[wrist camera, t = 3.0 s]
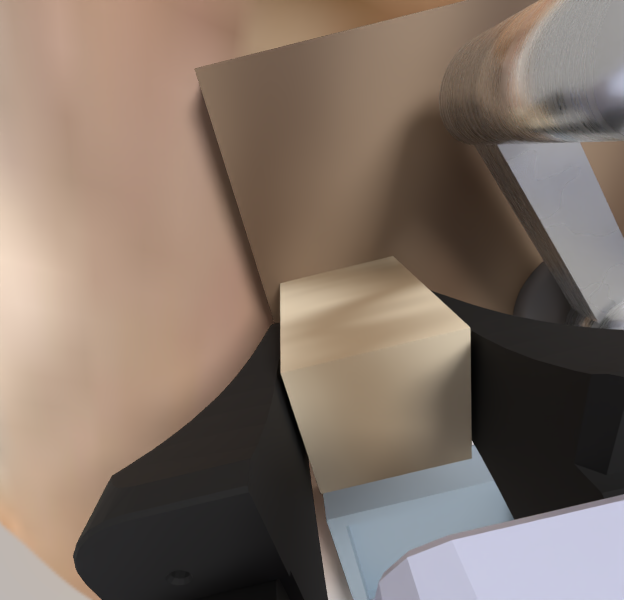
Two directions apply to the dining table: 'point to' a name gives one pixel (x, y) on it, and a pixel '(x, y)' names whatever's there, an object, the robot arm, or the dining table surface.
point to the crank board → (380, 163)
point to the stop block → (375, 373)
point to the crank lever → (551, 137)
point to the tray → (408, 516)
